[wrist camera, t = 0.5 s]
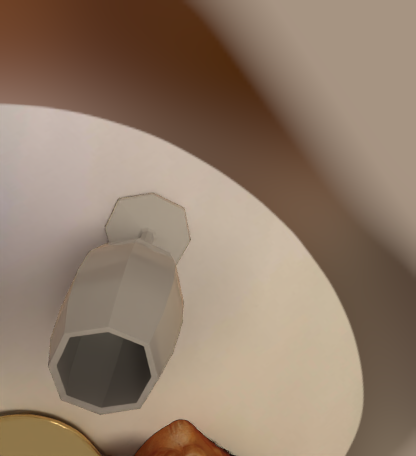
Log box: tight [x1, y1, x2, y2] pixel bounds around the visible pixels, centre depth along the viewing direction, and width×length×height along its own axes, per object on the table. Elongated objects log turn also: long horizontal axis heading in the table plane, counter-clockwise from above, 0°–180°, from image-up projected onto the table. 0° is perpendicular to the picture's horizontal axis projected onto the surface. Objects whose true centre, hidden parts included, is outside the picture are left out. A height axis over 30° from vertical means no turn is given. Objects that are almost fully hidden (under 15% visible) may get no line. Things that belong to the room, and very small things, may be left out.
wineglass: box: [48, 193, 191, 415], centre depth 31 cm, size 9×9×21 cm
